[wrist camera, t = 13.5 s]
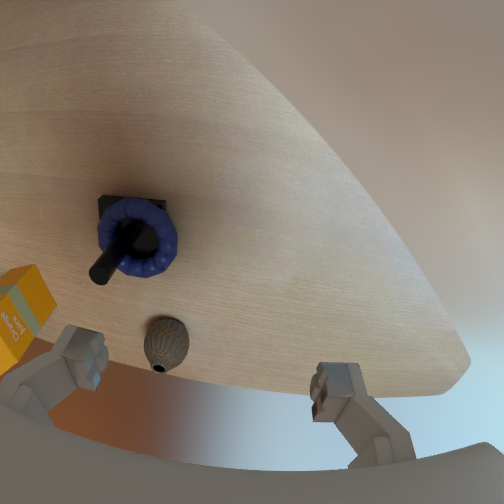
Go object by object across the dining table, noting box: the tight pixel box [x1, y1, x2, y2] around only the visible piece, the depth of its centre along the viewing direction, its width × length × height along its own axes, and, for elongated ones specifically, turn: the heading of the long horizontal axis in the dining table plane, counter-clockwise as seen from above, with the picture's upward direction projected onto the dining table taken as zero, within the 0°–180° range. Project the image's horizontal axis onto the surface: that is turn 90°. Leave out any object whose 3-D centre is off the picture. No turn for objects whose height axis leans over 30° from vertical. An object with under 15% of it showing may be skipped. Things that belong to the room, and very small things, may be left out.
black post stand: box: [89, 195, 166, 285], centre depth 35 cm, size 9×9×12 cm
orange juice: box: [0, 264, 57, 376], centre depth 37 cm, size 8×9×20 cm
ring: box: [97, 198, 178, 278], centre depth 38 cm, size 11×11×2 cm
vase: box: [144, 319, 189, 374], centre depth 45 cm, size 7×7×9 cm
